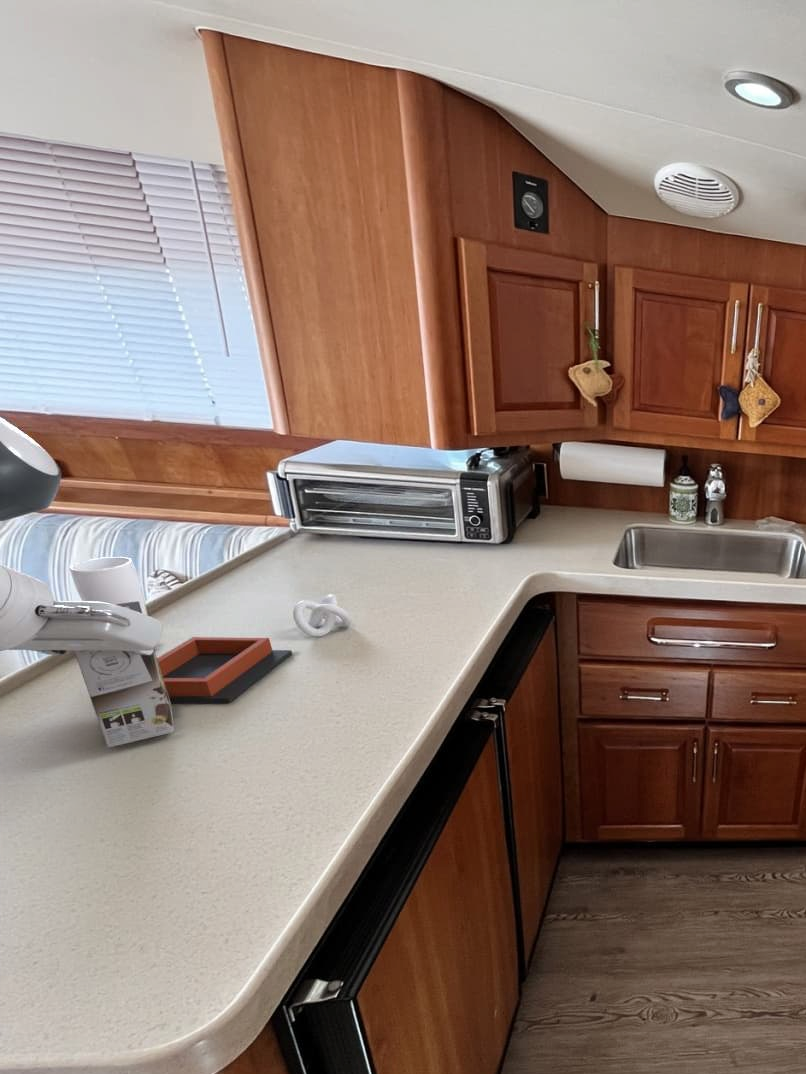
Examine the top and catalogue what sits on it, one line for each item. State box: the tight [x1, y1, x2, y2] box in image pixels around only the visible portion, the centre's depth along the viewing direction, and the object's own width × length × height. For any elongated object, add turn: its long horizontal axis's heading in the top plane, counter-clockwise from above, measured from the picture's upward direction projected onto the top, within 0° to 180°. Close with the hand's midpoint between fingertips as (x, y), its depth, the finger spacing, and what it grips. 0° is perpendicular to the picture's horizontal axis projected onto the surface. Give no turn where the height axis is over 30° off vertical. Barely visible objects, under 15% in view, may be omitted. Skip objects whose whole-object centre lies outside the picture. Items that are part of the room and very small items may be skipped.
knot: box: [292, 593, 353, 638], centre depth 113 cm, size 8×8×6 cm
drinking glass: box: [69, 556, 149, 616], centre depth 99 cm, size 7×7×15 cm
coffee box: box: [73, 601, 175, 748], centre depth 82 cm, size 9×6×16 cm
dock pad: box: [157, 636, 293, 704], centre depth 96 cm, size 16×15×3 cm
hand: (104, 648), depth 78 cm, fingers open, 8 cm apart
